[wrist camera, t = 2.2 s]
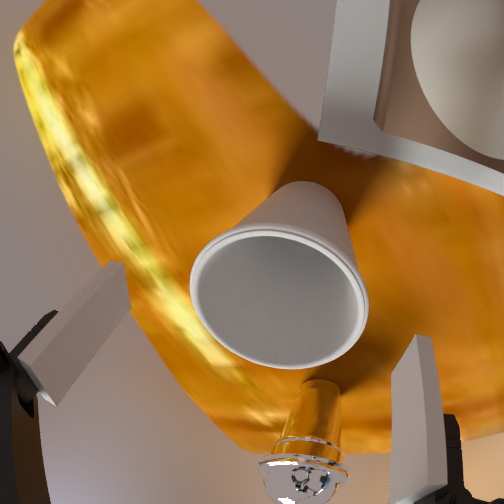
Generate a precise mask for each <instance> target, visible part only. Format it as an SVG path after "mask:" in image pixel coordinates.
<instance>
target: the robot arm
mask: <svg viewBox="0 0 504 504" xmlns="http://www.w3.org/2000/svg"><path fill="white" fill-rule="evenodd" d="M130 309H131V304H130V299H129V293H128V288H127V282H126V276H125V270H124V264H122V263H118V262H115V261H112V260H110V261H109V262H108V263H107V264H106V265H105V266H104V267H103V268H102V269H101V270H100V271H99V272H98V273H97V274H96V275H95V276H94V277H93V278H92V279H91V280H90V281H89V282H88V283H87V284H86V285H85V286H84V287H83V288H82V289H81V290H80V291H79V292H78V293H77V294H76V295H75V296H74V297H73V298H72V299H71V300H70V301H69V302H68V303H67V304H66V305H65V306H64V307H63V308H62V309H61V310H60V311H59V312H58V311H56V310H53V311H51V312H50V313H48V314H46V315H44V316H43V318H42V319H41V320H40V321H39V322H38V323H37V325H35V326H34V327H33V328H32V330H31V331H29V332H28V333H27V334H26V336H25V337H24V338H23V339H22V340H21V341H20V342H19V343H18V344H17V346H16V347H15V348H14V349H13V350H12V351H11V352H10V353H8V352H7V350H6V348H5V346H4V345H3V343H2V342H1V341H0V504H51V502H50V497H49V493H48V487H47V481H46V476H45V470H44V464H43V456H42V448H41V439H40V429H39V416H38V399H37V396H36V394H37V393H38V391H39V392H40V393H41V395H42V396H43V397H44V399H46V400H47V401H49V402H50V403H52V404H54V405H55V406H58V404H59V403H60V401H61V400H62V399H63V397H64V396H65V394H66V393H67V392H68V390H69V389H70V388H71V386H72V385H73V383H74V382H75V381H76V379H77V378H78V377H79V375H80V374H81V372H82V371H83V370H84V369H85V367H86V366H87V365H88V363H89V362H90V361H91V359H92V358H93V357H94V355H95V354H96V353H97V351H98V350H99V349H100V348H101V346H102V345H103V343H104V342H105V341H106V340H107V338H108V337H109V336H110V334H111V333H112V332H113V331H114V329H115V328H116V327H117V326H118V324H119V323H120V322H121V321H122V319H123V318H124V317H125V316H126V314H127V313H128V312H129V311H130ZM391 387H392V448H391V470H390V485H389V497H388V504H412V503H414V504H504V499H502V498H498V499H496V500H493V501H492V502H486V501H482V500H478V499H475V498H473V497H472V495H471V493H470V492H469V491H468V490H467V489H465V487H464V481H463V462H462V450H461V440H460V429H459V425H458V422H457V420H456V418H455V416H454V415H453V414H443V409H442V400H441V393H440V386H439V379H438V373H437V367H436V361H435V356H434V350H433V345H432V340H431V337H428V336H423V335H417V334H415V336H414V338H413V340H412V341H411V343H410V345H409V346H408V348H407V350H406V351H405V353H404V354H403V356H402V358H401V359H400V361H399V362H398V364H397V366H396V367H395V369H394V370H393V372H392V373H391Z"/></svg>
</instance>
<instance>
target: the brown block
mask: <svg viewBox="0 0 504 504" xmlns="http://www.w3.org/2000/svg"><path fill="white" fill-rule="evenodd" d="M373 120H374V122H375V123H376V124H377V126H378V127H379V128H380V129H381V131H382V132H383V133H387V134H391V135H394V136H398V137H401V138H405V139H408V140H412V141H415V142H418V143H421V144H425V145H428V146H431V147H434V148H437V149H440V150H443V151H446V152H449V153H451V154H454V155H457V156H460V157H463V158H465V159H468V160H471V161H473V162H476V163H478V164H481V165H483V166H486V167H488V168H491V169H493V170H496V171H498V172H500V173H503V174H504V0H390V2H389V13H388V22H387V31H386V40H385V47H384V55H383V62H382V69H381V76H380V82H379V88H378V94H377V100H376V106H375V111H374V117H373Z"/></svg>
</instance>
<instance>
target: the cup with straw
mask: <svg viewBox="0 0 504 504" xmlns="http://www.w3.org/2000/svg"><path fill="white" fill-rule="evenodd" d="M340 395H341V389H340V388H339V386H338V385H337V384H335V383H333V382H331V381H328V380H323V379H313V380H309V381H306V382H304V383H303V384H302V385H301V386H300V392H299V393H298V394H297V396H296V399H295V402H294V404H293V407H292V409H291V412H290V414H289V417H288V419H287V422H286V424H285V427H284V429H283V431H282V434H281V436H280V439H278V441H277V442H276V444H275V446H274V447H273V449H272V451H271V454H270V455H267V456H264V457H263V458H261V459H260V460H259V468H258V471H259V473H260V475H261V476H262V477H264V478H263V480H264V486H265V489H266V491H267V493H268V495H269V497H270V498H271V499H272V500H273V501H274V502H275V503H277V504H325V503H326V502H328V501H329V500H330V499H331V497H333V495H334V494H335V493H336V491H337V490H338V488H339V487H341V486H343V485H345V484H346V483H347V480H348V477H349V476H350V471H349V469H348V468H347V467H346V466H344V465H343V456H342V448H341V398H340Z"/></svg>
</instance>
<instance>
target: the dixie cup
mask: <svg viewBox="0 0 504 504" xmlns="http://www.w3.org/2000/svg"><path fill="white" fill-rule="evenodd" d="M190 294H191V299H192V303H193V306H194V308H195V311H196V313H197V315H198V317H199V319H200V320H201V322H202V323H203V325H204V326H205V328H206V329H207V330H208V331H209V332H210V334H211V335H212V336H213V337H214V338H215V339H216V340H217V341H218V342H220V343H221V344H222V345H223V346H224V347H226V348H227V349H229V350H230V351H232V352H233V353H235V354H237V355H238V356H240V357H242V358H244V359H247V360H249V361H252V362H254V363H257V364H260V365H264V366H268V367H273V368H280V369H303V368H310V367H315V366H319V365H322V364H325V363H327V362H330V361H332V360H334V359H336V358H338V357H339V356H341V355H343V354H344V353H345V352H347V351H348V350H349V349H350V348H351V347H352V346H353V345H354V344H355V343H356V342H357V340H358V339H359V337H360V336H361V334H362V332H363V330H364V328H365V326H366V323H367V319H368V314H369V298H368V292H367V288H366V285H365V283H364V280H363V278H362V276H361V274H360V272H359V271H358V267H357V263H356V259H355V254H354V250H353V246H352V242H351V238H350V234H349V230H348V226H347V222H346V219H345V215H344V211H343V208H342V205H341V203H340V202H339V200H338V199H337V197H336V196H335V195H334V194H333V193H332V192H331V191H330V190H329V189H327V188H326V187H324V186H322V185H320V184H317V183H314V182H310V181H296V182H291V183H288V184H286V185H284V186H282V187H281V188H279V189H278V190H277V191H275V192H274V193H273V194H271V195H270V196H269V197H268V198H267V199H266V200H265V201H264V202H263V203H261V204H260V205H259V206H258V207H257V208H256V209H254V210H253V211H252V212H251V213H250V214H248V215H247V216H246V217H245V218H244V219H243V220H242V221H240V222H239V223H238V224H237V225H236V226H235V227H233V228H232V229H230V230H227V231H225V232H223V233H221V234H220V235H218V236H217V237H215V238H214V239H212V240H211V241H210V242H209V243H208V244H207V245H206V246H205V247H204V248H203V249H202V250H201V252H200V253H199V255H198V256H197V258H196V260H195V262H194V265H193V267H192V271H191V276H190Z"/></svg>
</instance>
